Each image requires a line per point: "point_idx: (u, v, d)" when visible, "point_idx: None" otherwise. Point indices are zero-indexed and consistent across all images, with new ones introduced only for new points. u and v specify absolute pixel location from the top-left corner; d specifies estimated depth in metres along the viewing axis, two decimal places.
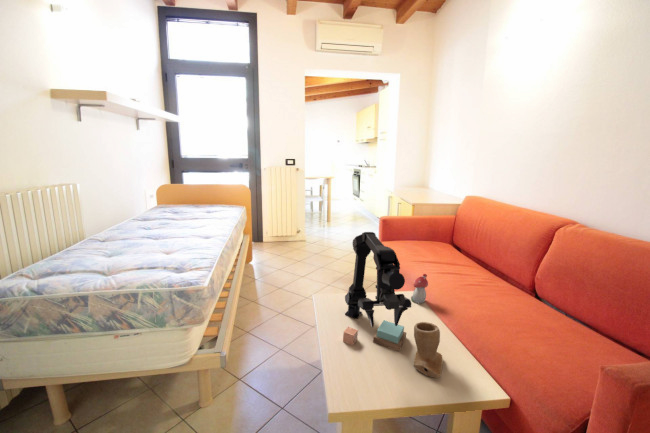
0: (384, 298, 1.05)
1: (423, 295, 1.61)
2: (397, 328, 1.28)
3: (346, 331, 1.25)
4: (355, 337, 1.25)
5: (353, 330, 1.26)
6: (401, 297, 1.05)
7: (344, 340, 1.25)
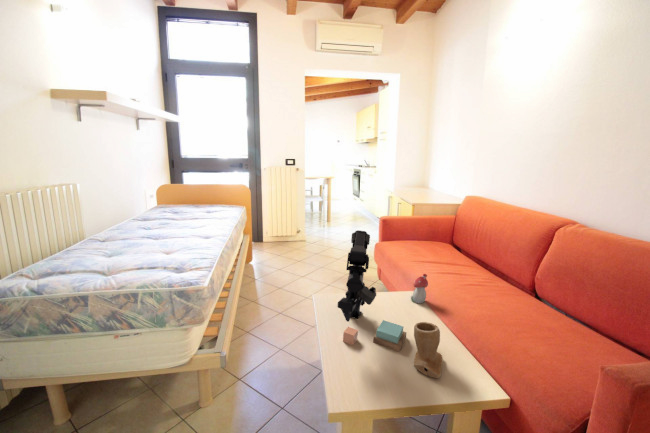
0: (365, 296, 1.17)
1: (423, 295, 1.61)
2: (396, 328, 1.28)
3: (346, 331, 1.25)
4: (355, 337, 1.25)
5: (353, 330, 1.26)
6: (374, 290, 1.21)
7: (344, 340, 1.25)
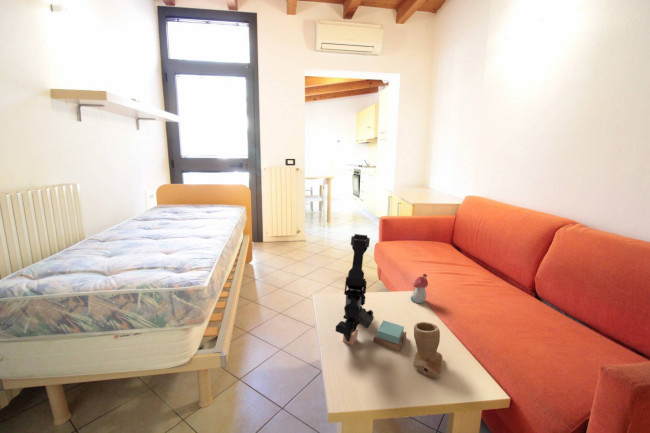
0: (362, 319, 1.20)
1: (423, 295, 1.61)
2: (397, 328, 1.28)
3: None
4: (355, 337, 1.25)
5: None
6: (372, 313, 1.23)
7: (344, 340, 1.25)
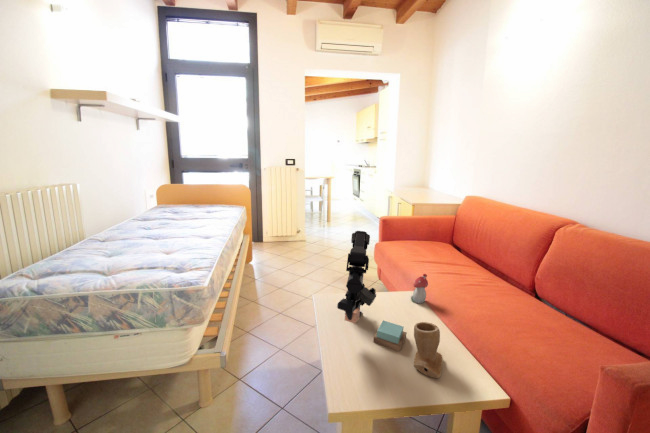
0: (364, 297, 1.17)
1: (423, 295, 1.61)
2: (397, 328, 1.28)
3: None
4: (357, 315, 1.23)
5: None
6: (374, 291, 1.21)
7: (346, 318, 1.23)
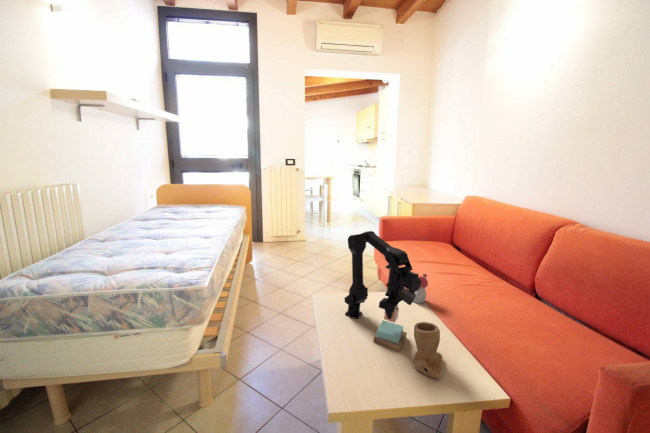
0: (405, 296, 1.19)
1: (423, 295, 1.61)
2: (396, 327, 1.28)
3: None
4: (396, 315, 1.25)
5: None
6: None
7: (385, 318, 1.25)
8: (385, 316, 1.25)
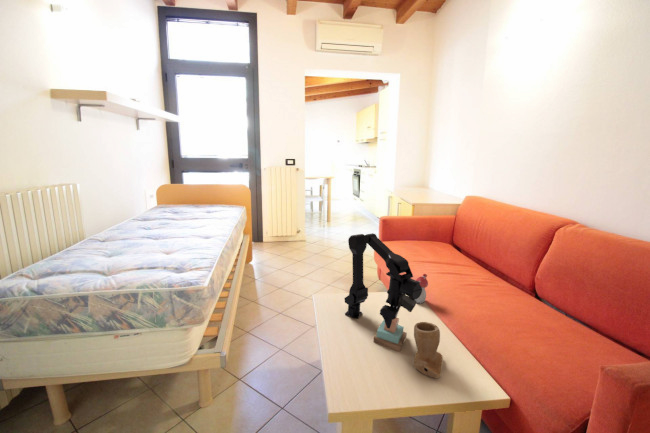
0: (406, 303, 1.20)
1: (423, 295, 1.61)
2: (397, 328, 1.28)
3: None
4: (396, 325, 1.26)
5: None
6: None
7: (385, 328, 1.26)
8: (385, 326, 1.26)
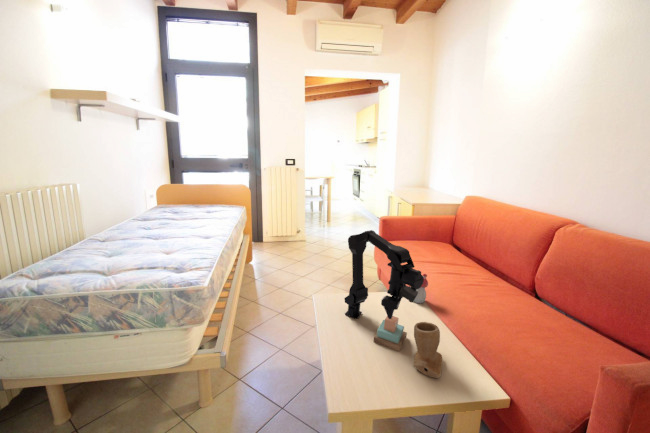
0: (407, 293, 1.19)
1: (423, 295, 1.61)
2: (397, 327, 1.29)
3: (387, 318, 1.26)
4: (396, 324, 1.26)
5: (394, 318, 1.27)
6: (416, 288, 1.23)
7: (385, 327, 1.27)
8: (385, 326, 1.26)
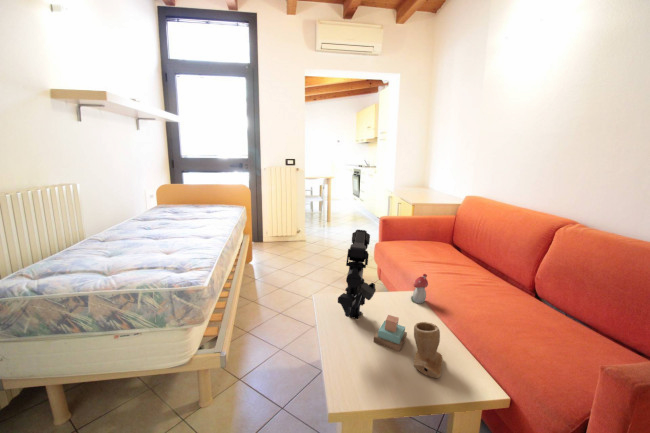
0: (364, 291, 1.19)
1: (423, 295, 1.61)
2: (398, 328, 1.28)
3: (388, 319, 1.26)
4: (397, 324, 1.26)
5: (394, 318, 1.27)
6: (374, 286, 1.23)
7: (386, 328, 1.26)
8: (386, 326, 1.26)
